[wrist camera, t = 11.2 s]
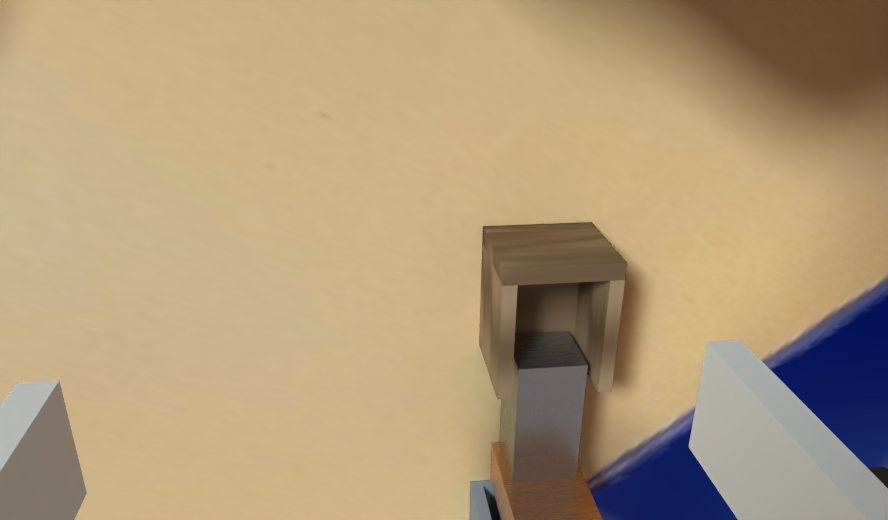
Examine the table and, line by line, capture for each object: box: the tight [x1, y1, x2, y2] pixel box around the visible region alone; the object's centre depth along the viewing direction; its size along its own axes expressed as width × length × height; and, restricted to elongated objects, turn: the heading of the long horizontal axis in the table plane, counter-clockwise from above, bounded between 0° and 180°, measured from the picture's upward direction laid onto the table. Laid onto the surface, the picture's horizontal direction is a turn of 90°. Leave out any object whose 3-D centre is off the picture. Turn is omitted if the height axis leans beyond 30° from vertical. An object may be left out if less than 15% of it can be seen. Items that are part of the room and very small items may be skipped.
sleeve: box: [479, 222, 627, 399], centre depth 42 cm, size 8×7×6 cm
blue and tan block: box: [490, 331, 603, 520], centre depth 43 cm, size 14×5×9 cm, turn 179°
